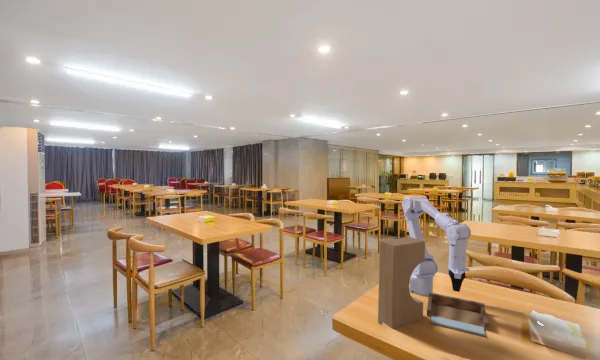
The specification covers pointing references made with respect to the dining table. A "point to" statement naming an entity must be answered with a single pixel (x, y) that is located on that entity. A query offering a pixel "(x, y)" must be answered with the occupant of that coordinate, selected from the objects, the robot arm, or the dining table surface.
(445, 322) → the panel
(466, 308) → the tray
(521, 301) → the dining table surface
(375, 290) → the dining table surface
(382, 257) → the decorative block
